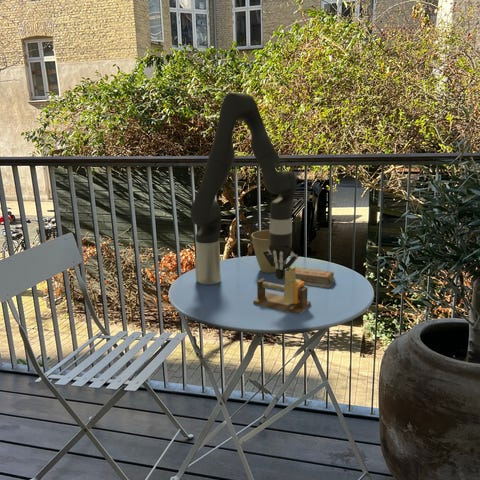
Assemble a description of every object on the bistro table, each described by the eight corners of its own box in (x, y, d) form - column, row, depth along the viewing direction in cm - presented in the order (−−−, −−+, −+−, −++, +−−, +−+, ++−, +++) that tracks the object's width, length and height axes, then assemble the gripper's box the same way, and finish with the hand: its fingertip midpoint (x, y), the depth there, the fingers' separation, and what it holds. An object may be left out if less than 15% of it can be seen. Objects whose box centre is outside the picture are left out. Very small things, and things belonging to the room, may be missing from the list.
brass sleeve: (283, 301, 156) (284, 270, 153) (292, 295, 161) (292, 265, 158) (293, 303, 154) (293, 272, 151) (301, 297, 159) (301, 267, 156)
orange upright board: (293, 302, 154) (293, 286, 152) (301, 296, 159) (301, 280, 157) (296, 303, 153) (296, 287, 152) (304, 297, 158) (304, 281, 157)
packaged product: (335, 269, 181) (329, 277, 172) (335, 280, 182) (329, 289, 174) (293, 263, 189) (284, 271, 180) (292, 274, 190) (284, 283, 181)
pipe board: (253, 303, 162) (253, 283, 159) (265, 295, 169) (265, 275, 167) (299, 314, 152) (299, 293, 150) (310, 304, 159) (310, 284, 157)
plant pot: (245, 268, 198) (245, 232, 194) (275, 262, 204) (275, 228, 200) (262, 278, 185) (262, 241, 181) (293, 272, 192) (293, 235, 187)
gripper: (303, 230, 153) (302, 278, 158) (268, 225, 160) (269, 272, 164) (293, 235, 147) (292, 285, 152) (258, 230, 154) (258, 278, 158)
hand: (280, 278), depth 158 cm, fingers closed
